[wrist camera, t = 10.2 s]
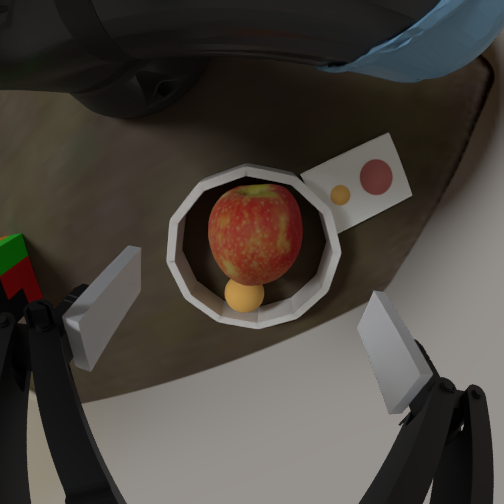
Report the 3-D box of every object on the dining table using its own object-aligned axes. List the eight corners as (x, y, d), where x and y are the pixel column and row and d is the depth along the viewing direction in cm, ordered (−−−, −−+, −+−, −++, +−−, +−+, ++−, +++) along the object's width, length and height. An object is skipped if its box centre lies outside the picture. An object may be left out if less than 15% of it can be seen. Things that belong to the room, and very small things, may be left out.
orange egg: (229, 263, 30) (225, 282, 26) (267, 270, 30) (268, 290, 26) (224, 295, 31) (219, 316, 28) (259, 301, 32) (259, 323, 28)
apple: (297, 178, 26) (312, 196, 19) (295, 259, 30) (306, 301, 22) (213, 180, 27) (194, 198, 19) (219, 260, 30) (206, 302, 22)
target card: (387, 132, 24) (389, 132, 23) (410, 194, 26) (412, 195, 26) (300, 174, 26) (300, 174, 26) (330, 235, 28) (331, 237, 28)
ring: (186, 153, 25) (177, 155, 23) (349, 186, 26) (359, 192, 23) (171, 296, 32) (164, 310, 29) (307, 320, 32) (310, 336, 30)
